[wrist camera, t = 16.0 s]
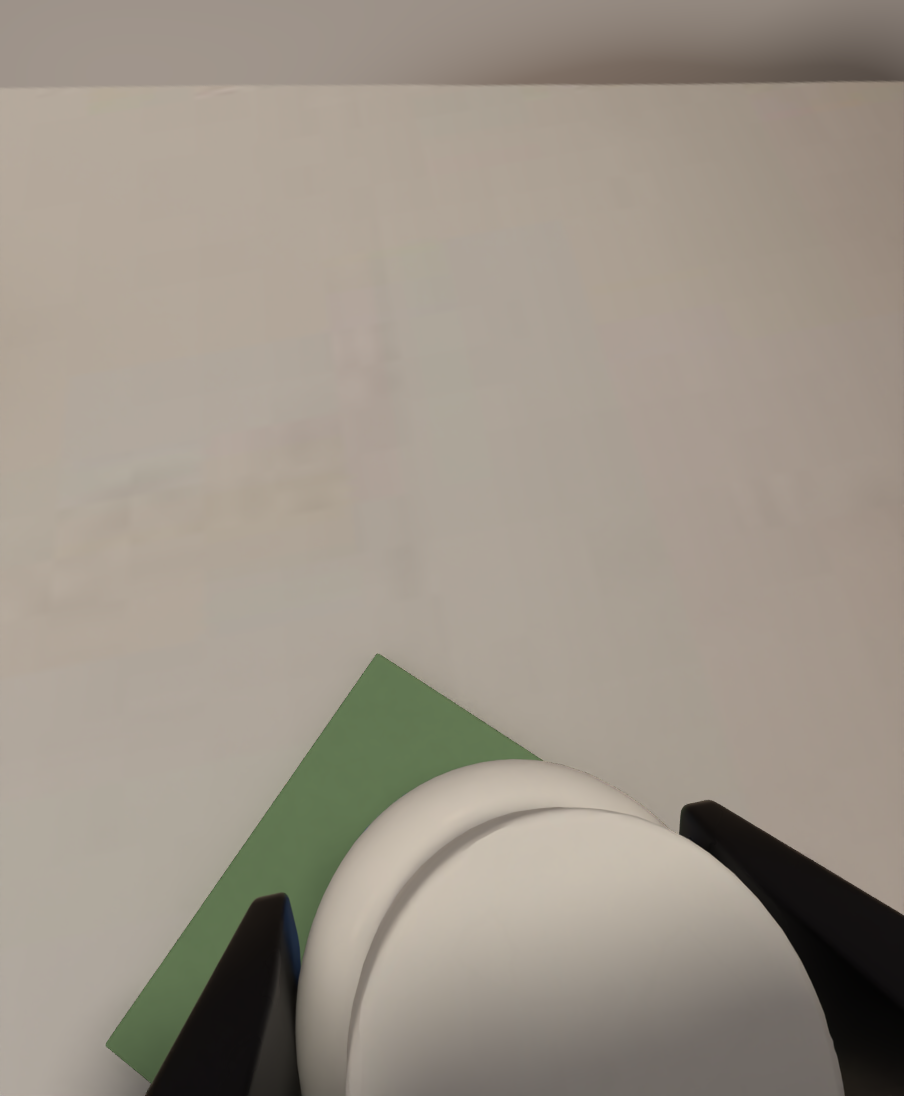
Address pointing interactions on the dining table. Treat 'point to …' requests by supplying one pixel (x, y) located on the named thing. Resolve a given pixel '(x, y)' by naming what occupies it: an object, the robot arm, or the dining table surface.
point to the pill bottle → (548, 955)
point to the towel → (312, 834)
